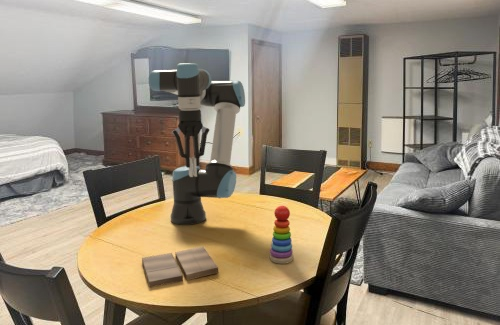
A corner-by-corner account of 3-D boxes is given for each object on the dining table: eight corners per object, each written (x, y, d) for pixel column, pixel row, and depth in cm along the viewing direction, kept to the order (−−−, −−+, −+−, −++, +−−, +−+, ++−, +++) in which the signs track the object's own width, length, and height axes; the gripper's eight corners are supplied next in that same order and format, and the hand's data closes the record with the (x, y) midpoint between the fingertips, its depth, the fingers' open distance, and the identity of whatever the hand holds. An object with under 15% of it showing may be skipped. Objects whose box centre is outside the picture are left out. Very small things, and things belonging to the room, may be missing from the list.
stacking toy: (292, 265, 137) (292, 210, 133) (268, 264, 138) (267, 209, 135) (294, 255, 145) (294, 203, 141) (271, 254, 146) (270, 202, 142)
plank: (175, 257, 145) (175, 252, 145) (203, 250, 148) (203, 246, 148) (187, 280, 129) (186, 274, 128) (218, 272, 132) (217, 267, 131)
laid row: (142, 262, 141) (141, 257, 141) (171, 257, 145) (171, 252, 144) (149, 287, 125) (149, 281, 124) (183, 280, 128) (182, 275, 128)
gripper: (171, 111, 139) (175, 180, 144) (212, 109, 143) (214, 176, 148) (167, 109, 146) (171, 175, 150) (206, 107, 150) (208, 171, 155)
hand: (193, 175), depth 149 cm, fingers closed
